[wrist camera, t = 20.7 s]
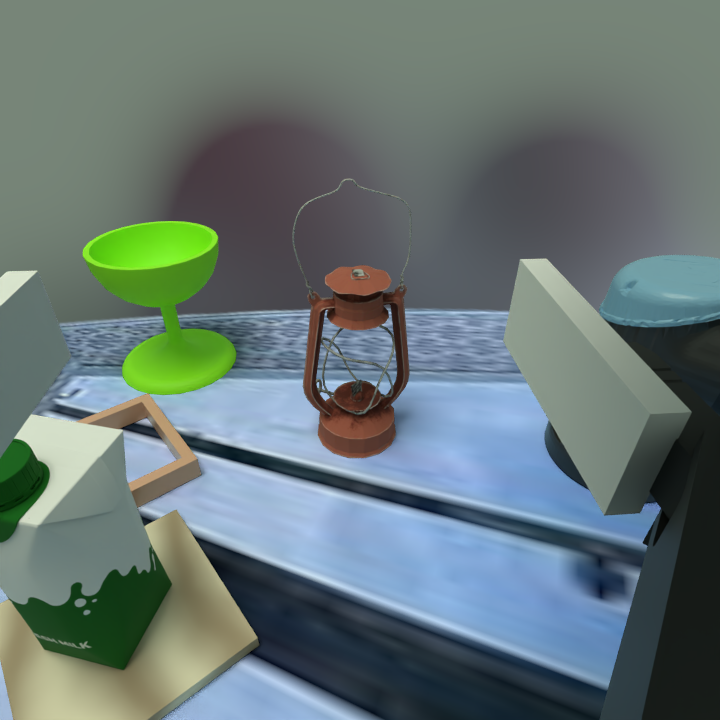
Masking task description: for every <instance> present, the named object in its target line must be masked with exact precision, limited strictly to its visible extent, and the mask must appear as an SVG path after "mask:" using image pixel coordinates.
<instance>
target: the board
mask: <svg viewBox="0 0 720 720" xmlns="http://www.w3.org/2000/svg"><path fill="white" fill-rule="evenodd" d="M144 527H145V530H146V532H147V535H148V537H149V540H150V543H151V545H152V547H153V549H154V551H155V552H156V554H157V556H158V558H159V560H160V562H161V564H162V566H163V568H164V569H165V571H166V573H167V575H168V577H169V579H170V581H171V583H172V585H171V587H170V589H169V591H168V592H167V594H166V596H165V598H164V600H163V601H162V603H161V605H160V607H159V609H158V610H157V612H156V614H155V616H154V617H153V619H152V621H151V623H150V625H149V626H148V628H147V630H146V632H145V634H144V635H143V637H142V639H141V641H140V642H139V644H138V646H137V648H136V650H135V651H134V653H133V655H132V657H131V658H130V660H129V662H128V664H127V666H126V667H125V669H124V670H120V669H117V668H113V667H109V666H105V665H101V664H98V663H94V662H90V661H86V660H82V659H78V658H75V657H71V656H67V655H63V654H59V653H55V652H52V651H48V650H44V649H43V647H42V646H41V644H40V643H39V641H38V640H37V638H36V637H35V635H34V634H33V632H32V631H31V629H30V627H29V626H28V625H27V623H26V622H25V620H24V619H23V618H22V616H21V615H20V614H19V612H18V611H17V609H16V608H15V607H14V605H13V604H12V602H11V601H10V600H9V599H8V600H6V601H4V602H2V603H0V660H1V665H2V670H3V674H4V679H5V683H6V688H7V693H8V697H9V702H10V706H11V711H12V715H13V720H160V719H162V718H163V717H164V716H166V715H167V714H168V713H170V712H171V711H172V710H174V709H175V708H176V707H178V706H179V705H180V704H182V703H183V702H184V701H186V700H187V699H188V698H190V697H191V696H192V695H194V694H195V693H196V692H198V691H199V690H200V689H202V688H203V687H204V686H206V685H207V684H208V683H210V682H211V681H212V680H214V679H215V678H216V677H218V676H219V675H220V674H222V673H223V672H224V671H225V670H227V669H228V668H229V667H231V666H232V665H233V664H235V663H236V662H237V661H239V660H240V659H241V658H243V657H244V656H245V655H247V654H248V653H249V652H251V651H252V650H253V649H255V648H256V647H257V646H259V642H258V638H257V636H256V634H255V633H254V631H253V630H252V628H251V627H250V625H249V623H248V622H247V620H246V619H245V617H244V616H243V614H242V612H241V611H240V609H239V608H238V606H237V604H236V603H235V601H234V600H233V598H232V597H231V595H230V593H229V592H228V590H227V589H226V587H225V586H224V584H223V582H222V581H221V579H220V578H219V576H218V574H217V573H216V571H215V570H214V568H213V567H212V565H211V563H210V562H209V560H208V559H207V557H206V556H205V554H204V552H203V551H202V549H201V548H200V546H199V545H198V543H197V541H196V540H195V538H194V537H193V535H192V533H191V532H190V530H189V529H188V527H187V526H186V524H185V522H184V521H183V519H182V518H181V516H180V515H179V513H178V511H177V510H174V511H172V512H171V513H169V514H167V515H165V516H163V517H161V518H159V519H157V520H156V521H154V522H152V523H150V524H148V525H146V526H144Z"/></svg>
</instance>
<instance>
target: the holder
mask: <svg viewBox="0 0 720 720" xmlns="http://www.w3.org/2000/svg"><path fill="white" fill-rule="evenodd" d="M146 417H147V418H148V420H149V421H150V423H151V424H152V425H153V427H154V428H155V430H156V431H157V433H158V434H159V435H160V437H161V438H162V440H163V441H164V443H165V444H166V445H167V447H168V448H169V450H170V451H171V452H172V454H173V455H174V457H175V458H176V461H174V462H172V463H170V464H168V465H166V466H164V467H162V468H160V469H157V470H155V471H153V472H151V473H149V474H147V475H145V476H143V477H141V478H139V479H137V480H135V481H132V482H130V483H128V485H129V487H130V490H131V493H132V495H133V498H134V501H135V503H136V506H137V508H138V507H140V506H141V505H143V504H145V503H147V502H149V501H151V500H153V499H155V498H157V497H159V496H161V495H163V494H165V493H167V492H169V491H171V490H173V489H175V488H177V487H179V486H181V485H183V484H185V483H187V482H188V481H190V480H192V479H194V478H196V477H198V476H200V475H201V471H200V467H199V463H198V459H197V458H196V456H195V455H194V454H193V452H192V451H191V450H190V448H189V447H188V446H187V444H186V443H185V442H184V440H183V439H182V438H181V436H180V435H179V434H178V432H177V431H176V430H175V428H174V427H173V426H172V424H171V423H170V422H169V421H168V419H167V418H166V417H165V415H164V414H163V413H162V411H161V410H160V409H159V407H158V406H157V405H156V403H155V402H154V401H153V399H152V398H151V397H150V395H149V394H145V395H142V396H140V397H137V398H135V399H132V400H130V401H127V402H125V403H122V404H120V405H117V406H115V407H112V408H110V409H107V410H104V411H102V412H99V413H97V414H94V415H92V416H89V417H87V418H84V419H82V420H79V421H77V422H78V423H84V424H90V425H96V426H102V427H108V428H113V429H120V428H122V427H125V426H127V425H129V424H132V423H134V422H137V421H139V420H141V419H144V418H146Z"/></svg>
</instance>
